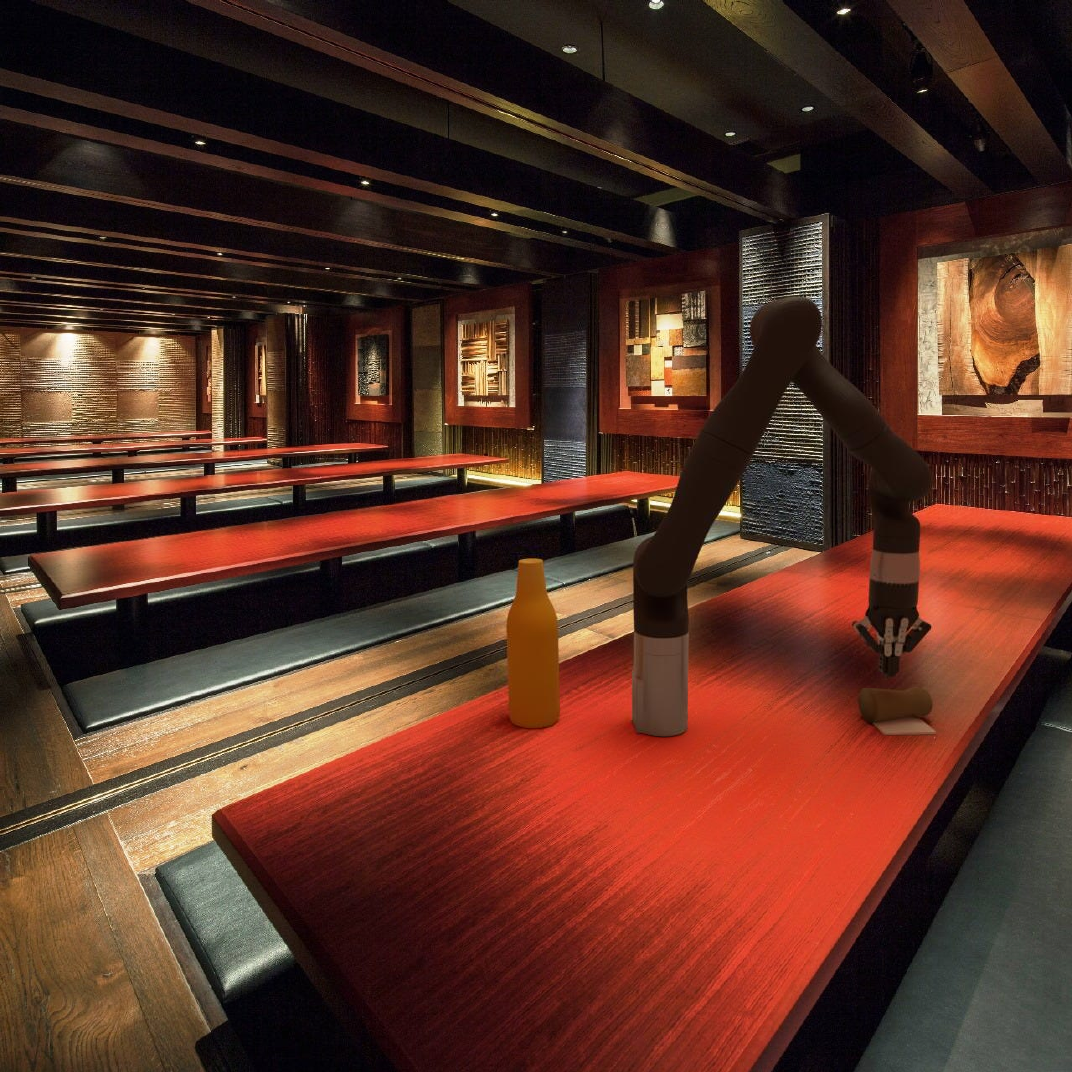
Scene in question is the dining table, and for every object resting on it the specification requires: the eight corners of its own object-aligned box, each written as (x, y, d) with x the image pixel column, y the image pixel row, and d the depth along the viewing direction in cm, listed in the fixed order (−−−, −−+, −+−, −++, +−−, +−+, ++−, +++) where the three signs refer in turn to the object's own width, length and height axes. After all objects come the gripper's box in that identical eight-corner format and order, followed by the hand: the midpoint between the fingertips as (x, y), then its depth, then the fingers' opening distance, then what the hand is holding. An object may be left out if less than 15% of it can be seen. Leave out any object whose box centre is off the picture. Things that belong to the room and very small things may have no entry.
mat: (884, 734, 125) (884, 732, 125) (859, 711, 134) (859, 708, 134) (935, 734, 124) (936, 731, 124) (907, 710, 134) (907, 708, 134)
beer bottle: (504, 728, 131) (498, 565, 126) (514, 707, 140) (509, 555, 135) (556, 730, 129) (553, 566, 124) (563, 709, 138) (560, 555, 133)
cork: (854, 696, 134) (912, 692, 135) (866, 728, 130) (925, 724, 131) (869, 681, 129) (928, 678, 130) (881, 715, 125) (942, 711, 126)
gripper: (863, 582, 122) (858, 684, 124) (945, 580, 121) (938, 682, 124) (845, 572, 129) (841, 668, 132) (922, 570, 129) (916, 667, 132)
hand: (888, 675), depth 128 cm, fingers closed
